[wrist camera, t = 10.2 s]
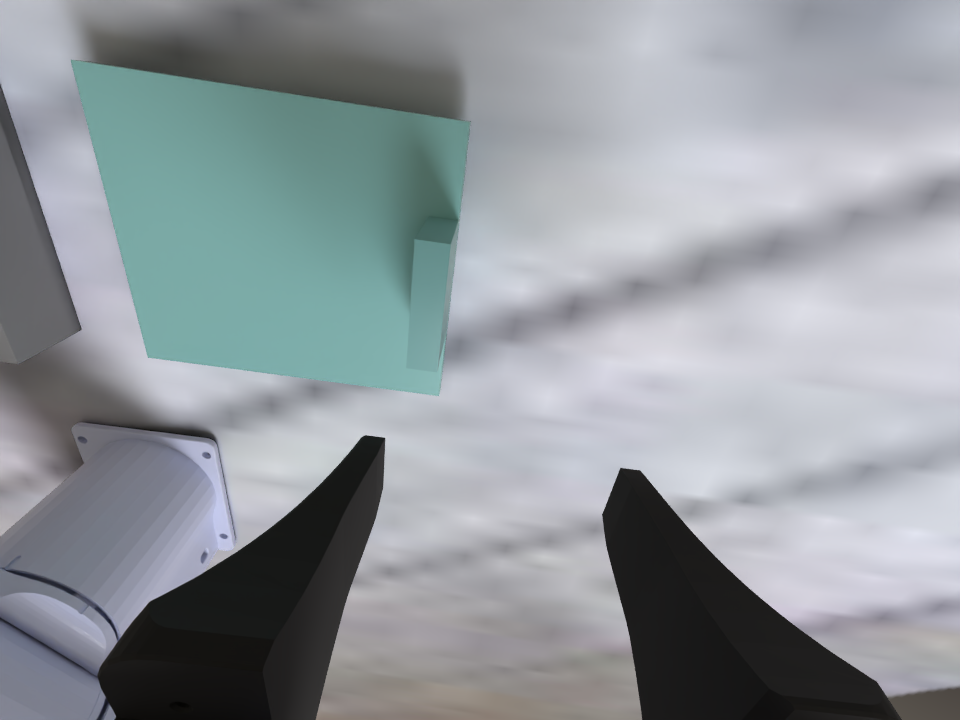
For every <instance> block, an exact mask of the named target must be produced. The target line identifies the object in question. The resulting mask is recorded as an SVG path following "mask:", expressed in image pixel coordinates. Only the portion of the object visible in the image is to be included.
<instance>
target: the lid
mask: <svg viewBox="0 0 960 720" xmlns="http://www.w3.org/2000/svg"><path fill="white" fill-rule="evenodd" d="M71 63H72V67H73V71H74V75H75V79H76V82H77V86H78V90H79V94H80V98H81V102H82V106H83V109H84V113H85V117H86V121H87V125H88V129H89V133H90V136H91V140H92V144H93V148H94V152H95V156H96V159H97V163H98V167H99V171H100V175H101V179H102V183H103V186H104V190H105V194H106V198H107V202H108V206H109V209H110V213H111V217H112V221H113V225H114V229H115V233H116V236H117V240H118V244H119V248H120V252H121V256H122V260H123V263H124V267H125V271H126V275H127V279H128V283H129V286H130V290H131V294H132V298H133V302H134V306H135V310H136V313H137V317H138V321H139V325H140V329H141V333H142V337H143V340H144V344H145V348H146V352H147V356H148V358H156V359H163V360H171V361H179V362H186V363H194V364H201V365H209V366H216V367H224V368H231V369H239V370H247V371H254V372H262V373H269V374H277V375H284V376H292V377H299V378H307V379H315V380H322V381H330V382H337V383H345V384H352V385H360V386H367V387H375V388H383V389H390V390H398V391H405V392H413V393H420V394H428V395H435V396H439V393H440V388H441V381H442V372H443V363H444V354H445V345H446V336H447V327H448V319H449V310H450V301H451V292H452V283H453V274H454V265H455V256H456V248H457V239H458V230H459V221H460V212H461V203H462V194H463V186H464V177H465V168H466V159H467V150H468V141H469V132H470V124H471V121H465V120H458V119H452V118H445V117H439V116H433V115H426V114H420V113H413V112H407V111H401V110H394V109H388V108H382V107H375V106H369V105H362V104H356V103H350V102H343V101H337V100H330V99H324V98H318V97H311V96H305V95H298V94H292V93H286V92H279V91H273V90H267V89H260V88H254V87H247V86H241V85H235V84H228V83H222V82H215V81H209V80H203V79H196V78H190V77H184V76H177V75H171V74H164V73H158V72H152V71H145V70H139V69H132V68H126V67H120V66H113V65H107V64H101V63H94V62H87V61H77V60H71Z"/></svg>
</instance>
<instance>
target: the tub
mask: <svg viewBox="0 0 960 720" xmlns="http://www.w3.org/2000/svg"><path fill="white" fill-rule="evenodd" d="M80 330H81V327H80V324H79V321H78V318H77V315H76V312H75V309H74V306H73V303H72V300H71V297H70V294H69V291H68V288H67V285H66V282H65V279H64V276H63V273H62V270H61V267H60V264H59V261H58V258H57V255H56V252H55V249H54V246H53V243H52V240H51V237H50V234H49V231H48V228H47V225H46V222H45V219H44V216H43V213H42V210H41V206H40V203H39V200H38V197H37V194H36V191H35V188H34V185H33V182H32V179H31V176H30V173H29V170H28V167H27V164H26V161H25V158H24V155H23V152H22V149H21V146H20V143H19V140H18V137H17V134H16V131H15V128H14V125H13V122H12V119H11V116H10V113H9V110H8V107H7V104H6V101H5V98H4V95H3V92H2V89H1V86H0V362H5V363H12V364H20V363H22V362H24V361H25V360H27V359H29V358H31V357H33V356H35V355H36V354H38V353H40V352H42V351H44V350H45V349H47V348H49V347H51V346H53V345H55V344H56V343H58V342H60V341H62V340H64V339H66V338H67V337H69V336H71V335H73V334H75V333H77V332H78V331H80Z"/></svg>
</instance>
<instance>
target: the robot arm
mask: <svg viewBox="0 0 960 720" xmlns="http://www.w3.org/2000/svg"><path fill="white" fill-rule="evenodd" d="M71 431H72V434H73V437H74V439H75V442H76V444H77V447H78V449H79V452H80V454H81V457H82V460H83V462H84V464H83V465H82V466H81V467H79V468H78V469H77V470H76V471H75V472H74V473H73V474H71V475H70V476H69V477H68V478H67V479H66V480H65V481H63V482H62V483H61V484H60V485H59V486H58V487H57V488H55V489H54V490H53V491H52V492H51V493H50V494H49V495H47V496H46V497H45V498H44V499H43V500H42V501H41V502H39V503H38V504H37V505H36V506H35V507H34V508H33V509H31V510H30V511H29V512H28V513H27V514H26V515H25V516H23V517H22V518H21V519H20V520H19V521H18V522H16V523H15V524H14V525H13V526H12V527H11V528H10V529H8V530H7V531H6V532H5V533H4V534H3V535H2V536H0V720H316V716H317V711H318V707H319V703H320V699H321V695H322V691H323V687H324V683H325V679H326V675H327V671H328V667H329V663H330V659H331V655H332V651H333V648H334V644H335V640H336V636H337V632H338V628H339V625H340V621H341V617H342V613H343V610H344V606H345V603H346V599H347V596H348V593H349V590H350V587H351V584H352V582H353V579H354V576H355V574H356V571H357V568H358V565H359V563H360V560H361V557H362V555H363V552H364V549H365V546H366V544H367V541H368V538H369V535H370V533H371V530H372V527H373V524H374V521H375V519H376V515H377V511H378V507H379V502H380V498H381V494H382V490H383V477H384V454H385V438H382V437H374V436H367V435H365V436H363V437H362V438H361V439H360V440H359V441H358V443H357V444H356V445H355V446H354V448H353V449H352V450H351V451H350V452H349V454H348V455H347V456H346V457H345V458H344V459H343V460H342V462H341V463H340V464H339V465H338V466H337V467H336V468H335V469H334V470H333V471H332V472H331V474H330V475H329V476H328V477H327V478H326V479H325V480H324V481H323V482H322V483H321V484H320V485H319V486H318V487H317V488H316V489H315V490H314V491H313V492H312V493H311V494H309V495H308V496H307V497H306V498H305V499H304V500H303V501H302V502H301V503H300V504H299V505H298V506H296V507H295V508H294V509H293V510H292V511H291V512H290V513H288V514H287V515H286V516H285V517H284V518H282V519H281V520H280V521H279V522H277V523H276V524H275V525H274V526H272V527H271V528H270V529H268V530H267V531H266V532H264V533H263V534H262V535H260V536H259V537H257V538H256V539H255V540H253V541H252V542H251V543H249V544H248V545H246V546H245V547H243V548H242V549H241V550H239V551H238V552H236V553H234V554H233V555H231V556H230V557H228V558H226V559H225V560H223V561H222V562H220V563H218V564H217V565H215V566H214V567H212V568H210V569H209V570H207V571H206V572H204V571H205V569H206V568H207V566H208V565H209V563H210V561H211V560H212V558H213V557H214V555H215V553H216V552H217V550H225V551H230V550H232V549H233V548H234V547H235V545H236V541H235V535H234V530H233V525H232V520H231V515H230V510H229V505H228V499H227V494H226V489H225V484H224V479H223V474H222V469H221V463H220V458H219V453H218V448H217V445H216V443H215V442H214V441H213V440H211V439H209V438H202V437H194V436H186V435H178V434H171V433H163V432H155V431H147V430H139V429H131V428H123V427H115V426H107V425H99V424H91V423H83V422H79V423H77V424H75V425H74V426H73V427H72V428H71ZM207 452H208V453H209V454H208V453H207ZM602 516H603V524H604V532H605V539H606V546H607V550H608V554H609V558H610V562H611V566H612V570H613V574H614V577H615V581H616V585H617V588H618V592H619V596H620V600H621V603H622V607H623V611H624V614H625V618H626V622H627V627H628V631H629V635H630V641H631V647H632V653H633V659H634V665H635V671H636V677H637V684H638V691H639V698H640V705H641V712H642V720H902V719H901V718H900V716H899V715H898V713H897V712H896V710H895V709H894V707H893V706H892V704H891V703H890V701H889V700H888V698H887V696H886V695H885V693H884V692H883V690H882V689H881V687H880V686H879V685H878V683H877V682H876V681H874V680H873V679H871V678H870V677H868V676H867V675H865V674H864V673H862V672H861V671H859V670H858V669H856V668H855V667H853V666H852V665H850V664H849V663H847V662H846V661H844V660H842V659H841V658H839V657H838V656H836V655H835V654H833V653H832V652H830V651H829V650H827V649H826V648H825V647H823V646H822V645H820V644H819V643H818V642H816V641H815V640H814V639H812V638H811V637H809V636H808V635H807V634H805V633H804V632H803V631H801V630H800V629H798V628H797V627H796V626H795V625H793V624H792V623H791V622H789V621H788V620H787V619H785V618H784V617H783V616H782V615H780V614H779V613H778V612H777V611H775V610H774V609H773V608H772V607H771V606H769V605H768V604H767V603H766V602H764V601H763V600H762V599H761V598H760V597H758V596H757V595H756V594H755V593H754V592H753V591H751V590H750V589H749V588H748V587H747V586H746V585H745V584H744V583H742V582H741V581H740V580H739V579H738V578H737V577H736V576H735V575H734V574H733V573H732V572H731V571H730V570H728V569H727V568H726V567H725V566H724V565H723V564H722V563H721V562H720V561H719V560H718V559H717V558H716V557H715V556H714V555H713V554H712V553H711V552H710V551H709V550H708V549H707V547H706V546H705V545H704V544H703V543H702V542H701V541H700V540H699V539H698V538H697V537H696V536H695V535H694V534H693V532H692V531H691V530H690V529H689V528H688V527H687V526H686V525H685V523H684V522H683V521H682V520H681V519H680V518H679V517H678V515H677V514H676V513H675V512H674V511H673V509H672V508H671V507H670V506H669V505H668V503H667V502H666V501H665V500H664V499H663V497H662V496H661V495H660V494H659V493H658V491H657V490H656V489H655V488H654V486H653V485H652V484H651V483H650V482H649V480H648V479H647V478H646V477H645V476H644V475H643V473H642V472H641V471H640V470H632V469H624V468H620V471H619V473H618V476H617V478H616V481H615V483H614V486H613V489H612V491H611V494H610V496H609V499H608V501H607V504H606V507H605V509H604V512H603V514H602Z"/></svg>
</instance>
